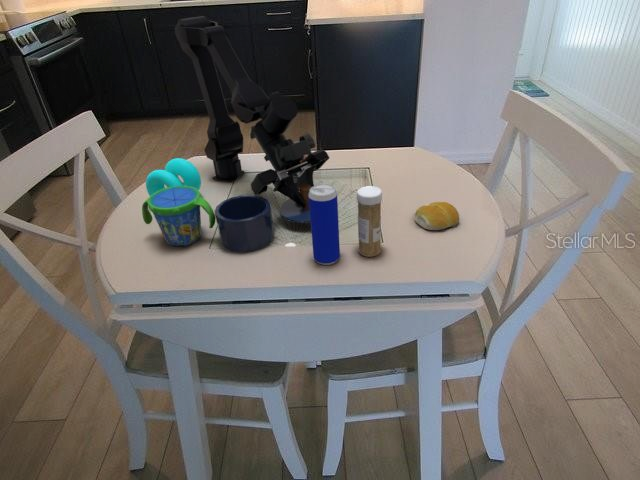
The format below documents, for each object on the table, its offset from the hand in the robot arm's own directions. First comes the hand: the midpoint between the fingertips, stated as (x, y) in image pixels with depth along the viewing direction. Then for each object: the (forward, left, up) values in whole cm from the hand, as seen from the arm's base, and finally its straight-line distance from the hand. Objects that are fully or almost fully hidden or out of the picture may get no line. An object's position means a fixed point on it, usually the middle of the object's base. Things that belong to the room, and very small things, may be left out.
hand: (310, 204), depth 100 cm
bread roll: (+26, +7, -4) cm, 27 cm away
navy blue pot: (-10, -11, -4) cm, 15 cm away
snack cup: (-24, -15, -4) cm, 28 cm away
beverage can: (+9, -13, -4) cm, 16 cm away
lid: (-1, +1, -2) cm, 2 cm away
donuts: (-36, -1, -4) cm, 36 cm away
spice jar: (+16, -8, -4) cm, 18 cm away
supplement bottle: (-9, +15, -4) cm, 18 cm away
